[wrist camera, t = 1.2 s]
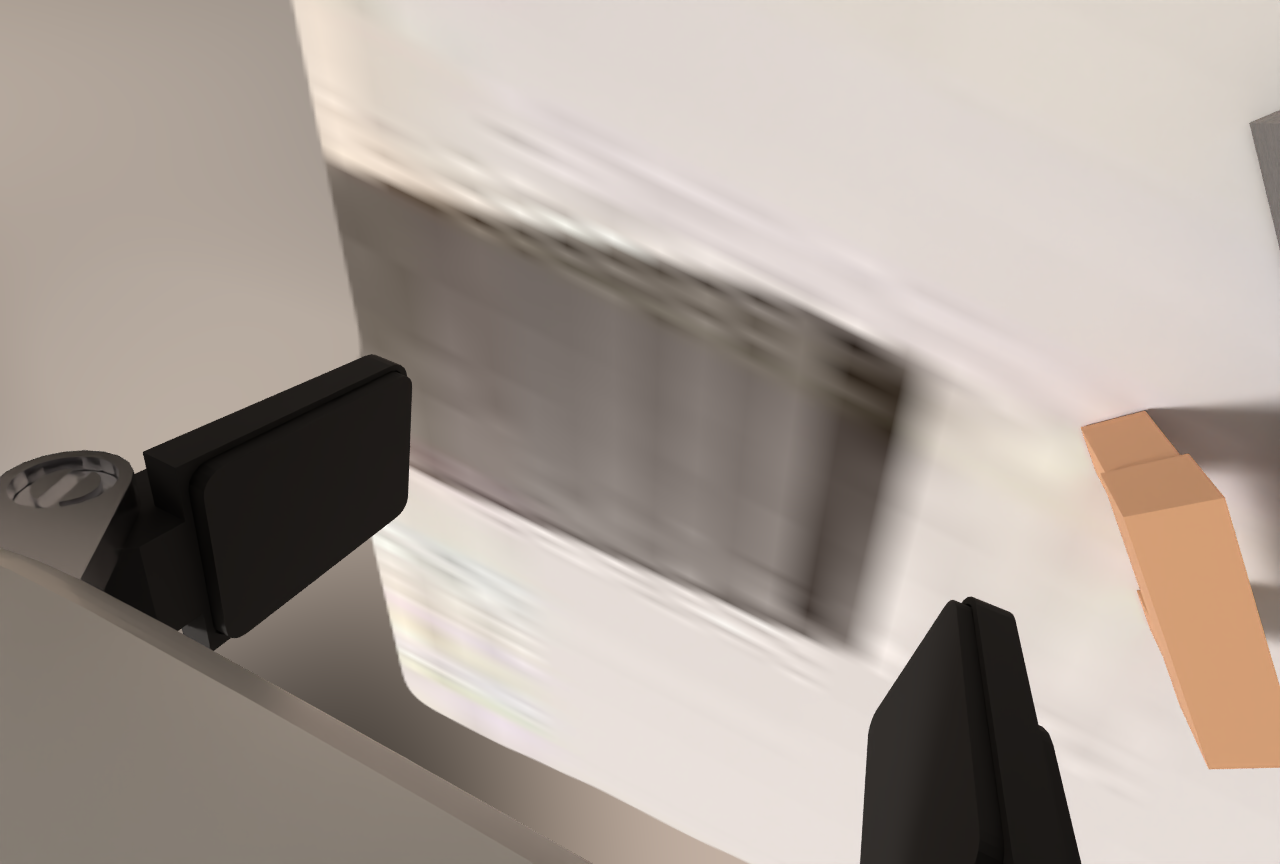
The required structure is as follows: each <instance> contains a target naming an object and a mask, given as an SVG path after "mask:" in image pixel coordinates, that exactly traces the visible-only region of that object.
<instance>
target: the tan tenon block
mask: <svg viewBox="0 0 1280 864" xmlns="http://www.w3.org/2000/svg"><path fill="white" fill-rule="evenodd" d="M1081 430H1082V433H1083V436H1084V439H1085V442H1086V444H1087V447H1088V450H1089V453H1090V456H1091V459H1092V462H1093V465H1094V468H1095V471H1096V473H1097V475H1098V477H1099V479H1100V481H1101V483H1102V485H1103V487H1104V488H1105V490H1106V492H1107V495H1108V498H1109V501H1110V503H1111V506H1112V509H1113V512H1114V515H1115V518H1116V521H1117V524H1118V527H1119V530H1120V533H1121V536H1122V538H1123V541H1124V544H1125V547H1126V550H1127V553H1128V556H1129V559H1130V562H1131V565H1132V568H1133V571H1134V573H1135V576H1136V579H1137V582H1138V585H1139V588H1140V590H1137V593H1138V595H1139V598H1140V601H1141V604H1142V607H1143V610H1144V613H1145V616H1146V619H1147V622H1148V624H1149V627H1150V630H1151V632H1152V634H1153V636H1154V639H1155V641H1156V643H1157V645H1158V647H1159V649H1160V651H1161V654H1162V656H1163V658H1164V661H1165V664H1166V667H1167V670H1168V673H1169V676H1170V678H1171V681H1172V684H1173V687H1174V690H1175V693H1176V696H1177V699H1178V702H1179V705H1180V707H1181V709H1182V711H1183V714H1184V716H1185V718H1186V720H1187V722H1188V725H1189V727H1190V729H1191V731H1192V733H1193V736H1194V738H1195V740H1196V742H1197V744H1198V746H1199V749H1200V751H1201V753H1202V755H1203V757H1204V760H1205V762H1206V764H1207V766H1208V768H1209V769H1238V768H1279V767H1280V686H1279V682H1278V679H1277V675H1276V672H1275V668H1274V665H1273V661H1272V658H1271V655H1270V651H1269V648H1268V644H1267V641H1266V637H1265V634H1264V631H1263V627H1262V624H1261V620H1260V617H1259V613H1258V610H1257V607H1256V603H1255V600H1254V596H1253V593H1252V589H1251V586H1250V583H1249V579H1248V576H1247V572H1246V569H1245V565H1244V562H1243V558H1242V555H1241V552H1240V548H1239V545H1238V541H1237V538H1236V534H1235V531H1234V528H1233V524H1232V521H1231V517H1230V514H1229V510H1228V507H1227V504H1226V500H1225V497H1224V496H1223V495H1222V494H1221V492H1220V491H1219V490H1218V489H1217V488H1216V486H1215V485H1214V484H1213V483H1212V482H1211V480H1210V479H1209V478H1208V477H1207V475H1206V474H1205V473H1204V472H1203V471H1202V469H1201V468H1200V467H1199V466H1198V464H1197V463H1196V462H1195V461H1194V460H1193V458H1192V457H1191V456H1190V455H1189V454H1184V455H1180V454H1179V453H1178V452H1177V450H1176V449H1175V448H1174V446H1173V445H1172V444H1171V443H1170V441H1169V440H1168V439H1167V438H1166V436H1165V435H1164V434H1163V433H1162V431H1161V430H1160V429H1159V428H1158V426H1157V425H1156V424H1155V423H1154V421H1153V420H1152V419H1151V418H1150V416H1149V415H1148V414H1147V412H1146V411H1142V412H1138V413H1134V414H1130V415H1127V416H1123V417H1119V418H1115V419H1111V420H1107V421H1104V422H1100V423H1096V424H1092V425H1088V426H1084V427H1081Z"/></svg>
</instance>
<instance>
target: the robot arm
mask: <svg viewBox="0 0 1280 864" xmlns="http://www.w3.org/2000/svg"><path fill="white" fill-rule="evenodd" d="M411 402H412V382H411V380H410V378H408V377H407V373H406V371H405V368H404V367H402V366H401V365H399V364H397V363H394V362H392V361H389V360H387V359H384V358H382V357H379V356H377V355H373V354H371V355H367V356H364V357H362V358H359V359H357V360H355V361H352V362H350V363H348V364H346V365H343V366H341V367H339V368H336V369H334V370H332V371H329V372H327V373H325V374H322V375H320V376H318V377H315V378H313V379H311V380H308V381H306V382H304V383H302V384H299V385H297V386H294V387H292V388H290V389H288V390H285V391H283V392H281V393H278V394H276V395H274V396H271V397H269V398H267V399H264V400H262V401H260V402H258V403H255V404H253V405H250V406H248V407H246V408H244V409H241V410H239V411H237V412H234V413H232V414H230V415H227V416H225V417H223V418H220V419H218V420H216V421H213V422H211V423H209V424H206V425H204V426H202V427H200V428H198V429H195V430H192V431H190V432H188V433H185V434H183V435H181V436H179V437H176V438H174V439H172V440H169V441H167V442H165V443H162V444H160V445H158V446H155V447H153V448H151V449H148V450H146V451H144V452H143V456H144V460H145V465H146V469H145V470H143V471H140V472H138V473H136V474H134V471H133V469H132V467H131V465H130V463H129V462H128V461H126V460H125V459H123V458H121V457H120V456H118V455H114V454H111V453H107V452H101V451H88V450H82V451H69V452H68V451H67V452H60V453H55V454H50V455H45V456H41V457H39V458H35V459H33V460H30V461H27V462H24V463H22V464H20V465H18V466H16V467H14V468H12V469H10V470H8V471H6V472H5V473H4V474H3V475H2V476H0V864H592V863H590V862H589V861H587V860H585V859H583V858H582V857H580V856H578V855H576V854H575V853H573V852H571V851H569V850H568V849H566V848H564V847H562V846H560V845H559V844H557V843H555V842H553V841H551V840H550V839H548V838H546V837H545V836H543V835H541V834H539V833H537V832H536V831H534V830H532V829H531V828H529V827H527V826H525V825H524V824H522V823H520V822H518V821H517V820H515V819H513V818H511V817H509V816H508V815H506V814H504V813H502V812H501V811H499V810H497V809H495V808H493V807H492V806H490V805H488V804H486V803H485V802H483V801H481V800H479V799H477V798H476V797H474V796H472V795H470V794H468V793H467V792H465V791H463V790H461V789H460V788H458V787H456V786H454V785H453V784H451V783H449V782H447V781H445V780H443V779H442V778H440V777H438V776H437V775H435V774H433V773H431V772H429V771H428V770H426V769H424V768H422V767H421V766H419V765H417V764H415V763H413V762H412V761H410V760H408V759H406V758H404V757H403V756H401V755H399V754H397V753H396V752H394V751H392V750H390V749H389V748H387V747H385V746H383V745H381V744H380V743H378V742H376V741H374V740H372V739H371V738H369V737H367V736H365V735H363V734H362V733H360V732H358V731H356V730H355V729H353V728H351V727H349V726H347V725H346V724H344V723H342V722H340V721H339V720H337V719H335V718H333V717H331V716H330V715H328V714H326V713H324V712H322V711H321V710H319V709H317V708H315V707H314V706H312V705H310V704H308V703H306V702H305V701H303V700H301V699H299V698H297V697H296V696H294V695H292V694H290V693H288V692H286V691H285V690H283V689H281V688H279V687H277V686H276V685H274V684H272V683H270V682H268V681H267V680H265V679H263V678H261V677H259V676H258V675H256V674H254V673H252V672H250V671H249V670H247V669H245V668H243V667H241V666H240V665H238V664H236V663H234V662H232V661H230V660H229V659H227V658H225V657H223V656H221V655H220V654H218V653H216V652H214V650H215V649H217V648H218V647H219V646H221V645H222V644H223V643H225V642H226V641H227V640H229V639H230V638H238V637H241V636H243V635H244V634H246V633H247V632H249V631H250V630H252V629H253V628H254V627H255V626H256V625H258V624H259V623H261V622H262V621H263V620H264V619H266V618H267V617H268V616H269V615H271V614H272V613H273V612H274V611H276V610H277V609H279V608H280V607H281V606H283V605H284V604H285V603H286V602H288V601H289V600H290V599H291V598H293V597H294V596H295V595H297V594H298V593H299V592H301V591H302V590H303V589H304V588H306V587H307V586H308V585H310V584H311V583H312V582H314V581H315V580H316V579H317V578H319V577H320V576H321V575H322V574H324V573H325V572H326V571H328V570H329V569H330V568H332V567H333V566H334V565H336V564H337V563H338V562H339V561H341V560H342V559H343V558H345V557H346V556H347V555H348V554H350V553H351V552H352V551H354V550H355V549H356V548H357V547H359V546H360V545H361V544H362V543H364V542H365V541H367V540H368V539H369V538H370V537H372V536H373V535H374V534H376V533H377V532H378V531H379V530H381V529H382V528H383V527H385V526H386V525H387V524H388V523H390V522H391V521H392V520H394V519H395V518H396V517H397V516H398V515H399V514H400V513H401V512H402V511H403V509H404V507H405V506H406V503H407V499H408V482H409V455H410V428H411ZM180 629H182V631H183V634H182V633H180V632H178V631H179V630H180ZM860 864H1081V860H1080V856H1079V852H1078V848H1077V843H1076V839H1075V835H1074V831H1073V826H1072V822H1071V818H1070V814H1069V810H1068V805H1067V801H1066V797H1065V793H1064V788H1063V784H1062V780H1061V776H1060V772H1059V767H1058V763H1057V759H1056V755H1055V750H1054V746H1053V743H1052V740H1051V738H1050V735H1049V733H1048V732H1047V731H1046V730H1045V729H1044V728H1043V727H1042V726H1039V725H1038V721H1037V717H1036V712H1035V707H1034V703H1033V698H1032V694H1031V689H1030V685H1029V680H1028V676H1027V671H1026V666H1025V662H1024V657H1023V653H1022V648H1021V644H1020V639H1019V635H1018V630H1017V626H1016V621H1015V618H1014V616H1013V614H1012V613H1010V612H1008V611H1006V610H1003V609H1001V608H998V607H996V606H993V605H991V604H989V603H986V602H984V601H981V600H979V599H976V598H974V597H967V598H966V599H965V600H963V602H962V603H960V602H957V601H955V600H950V601H949V602H948V603H947V604H946V605H945V607H944V608H943V610H942V611H941V613H940V614H939V616H938V617H937V619H936V620H935V622H934V624H933V625H932V627H931V628H930V630H929V631H928V633H927V634H926V636H925V637H924V639H923V640H922V642H921V643H920V645H919V646H918V648H917V649H916V651H915V652H914V654H913V655H912V657H911V659H910V660H909V662H908V663H907V665H906V666H905V668H904V669H903V671H902V672H901V674H900V675H899V677H898V678H897V680H896V681H895V683H894V684H893V686H892V687H891V689H890V690H889V692H888V694H887V695H886V697H885V698H884V700H883V701H882V703H881V704H880V706H879V707H878V709H877V710H876V712H875V714H874V716H873V718H872V721H871V724H870V728H869V733H868V745H867V761H866V777H865V793H864V809H863V825H862V842H861V858H860Z"/></svg>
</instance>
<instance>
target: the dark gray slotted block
mask: <svg viewBox="0 0 1280 864" xmlns="http://www.w3.org/2000/svg"><path fill="white" fill-rule="evenodd" d="M1250 127H1251V131H1252V135H1253V139H1254V144H1255V148H1256V152H1257V156H1258V160H1259V164H1260V169H1261V173H1262V177H1263V181H1264V185H1265V189H1266V193H1267V198H1268V202H1269V206H1270V210H1271V214H1272V218H1273V223H1274V227H1275V231H1276V235H1277V239H1278V243H1279V248H1280V110H1279V111H1277V112H1274V113H1272V114H1270V115H1267V116H1265V117H1262V118H1260V119H1258V120H1255V121H1253V122H1251V123H1250Z"/></svg>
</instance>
